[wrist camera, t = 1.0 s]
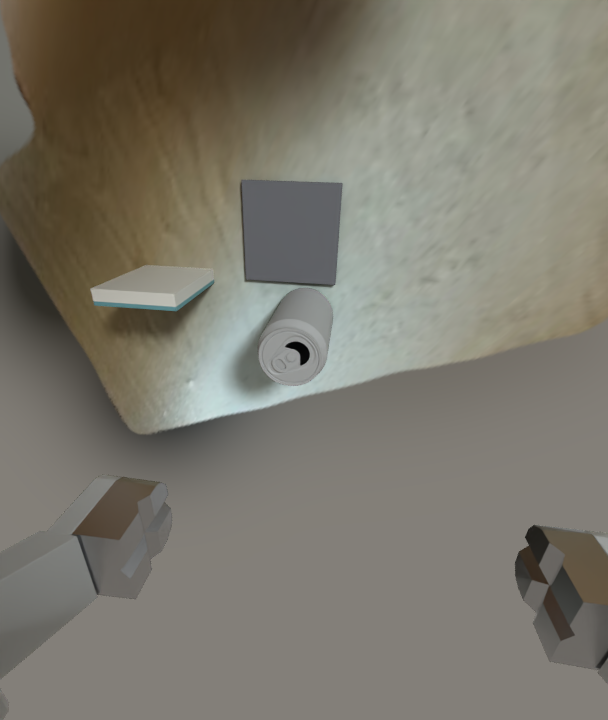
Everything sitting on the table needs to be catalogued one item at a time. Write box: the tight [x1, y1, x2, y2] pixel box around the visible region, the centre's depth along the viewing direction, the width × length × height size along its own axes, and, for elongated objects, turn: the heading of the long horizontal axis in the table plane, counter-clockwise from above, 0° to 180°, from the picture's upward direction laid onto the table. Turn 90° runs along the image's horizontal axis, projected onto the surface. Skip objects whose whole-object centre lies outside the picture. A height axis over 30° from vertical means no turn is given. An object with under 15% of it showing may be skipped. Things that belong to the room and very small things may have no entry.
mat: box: [242, 180, 342, 285], centre depth 38 cm, size 10×10×1 cm
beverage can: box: [258, 288, 333, 386], centre depth 36 cm, size 6×6×12 cm
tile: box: [91, 265, 214, 311], centre depth 37 cm, size 2×8×10 cm, turn 88°
